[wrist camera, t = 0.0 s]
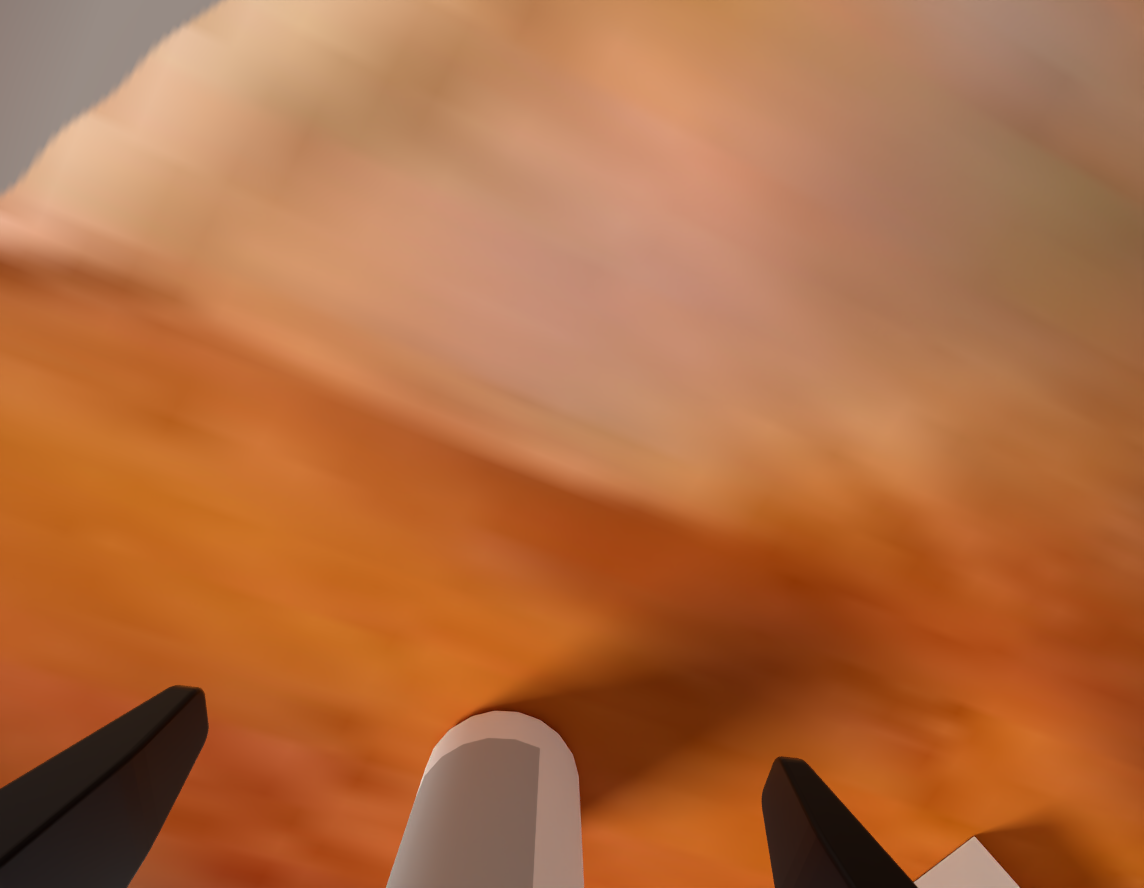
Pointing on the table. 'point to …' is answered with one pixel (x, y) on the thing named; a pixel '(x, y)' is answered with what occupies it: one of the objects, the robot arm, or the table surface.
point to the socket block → (967, 870)
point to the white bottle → (495, 810)
